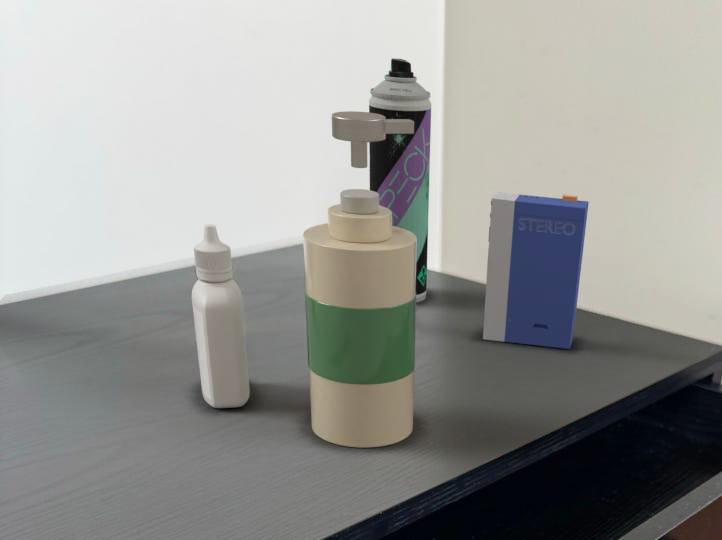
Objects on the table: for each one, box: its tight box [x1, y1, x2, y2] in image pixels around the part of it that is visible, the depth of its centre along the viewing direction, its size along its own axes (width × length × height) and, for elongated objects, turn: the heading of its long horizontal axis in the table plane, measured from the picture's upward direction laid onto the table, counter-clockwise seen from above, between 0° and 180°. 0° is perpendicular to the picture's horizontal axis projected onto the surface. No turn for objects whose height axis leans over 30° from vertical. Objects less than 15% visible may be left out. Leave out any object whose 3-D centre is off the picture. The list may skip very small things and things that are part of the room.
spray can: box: [368, 58, 432, 303], centre depth 89 cm, size 6×6×20 cm
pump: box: [331, 110, 414, 169], centre depth 59 cm, size 5×3×3 cm, turn 113°
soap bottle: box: [302, 188, 417, 449], centre depth 65 cm, size 7×7×16 cm
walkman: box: [482, 192, 590, 350], centre depth 83 cm, size 8×3×12 cm, turn 79°
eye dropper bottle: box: [191, 223, 251, 409], centre depth 69 cm, size 4×6×12 cm
